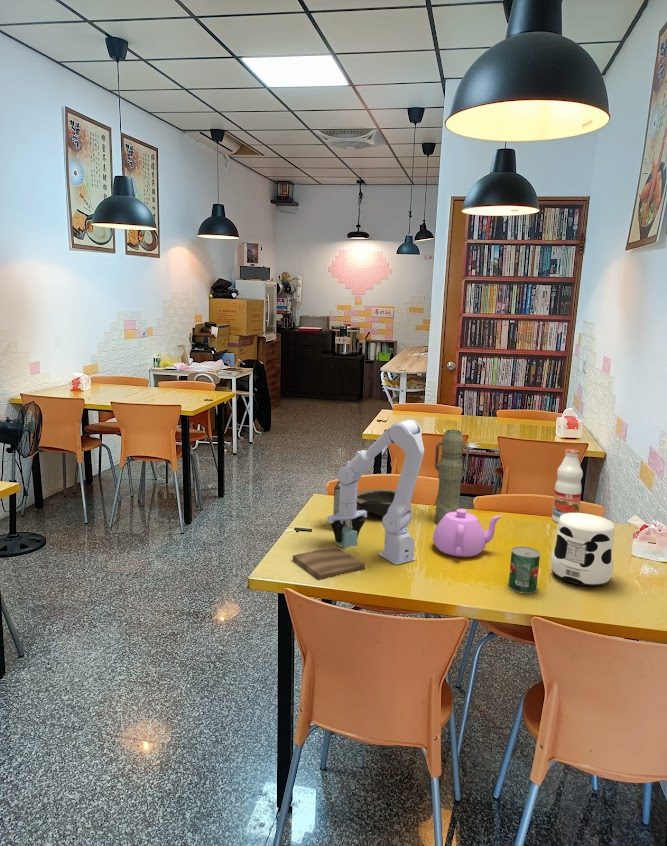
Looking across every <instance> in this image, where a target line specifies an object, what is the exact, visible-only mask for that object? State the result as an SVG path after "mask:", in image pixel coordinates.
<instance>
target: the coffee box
mask: <svg viewBox="0 0 667 846" xmlns="http://www.w3.org/2000/svg"><path fill="white" fill-rule="evenodd" d="M333 490H334V491H333V511H332V513H333V514H332V515H334V514H336V513H339V500H340V482H339V480H338V481H337V482H336V484H335V485H334V487H333ZM340 522H341V524H343V525H344V526H343V528H346V527H350V528H352V522H351V519H349V520H343V521H340Z"/></svg>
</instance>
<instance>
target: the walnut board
mask: <svg viewBox="0 0 667 846" xmlns="http://www.w3.org/2000/svg"><path fill="white" fill-rule="evenodd" d="M292 561H294V562H295V563H296V564H298V566H299V567H302V569H305V571H307V572H308V573H309V574H311V575H312V576H314V577H315V578H316V579H318V580H319V581H321V580H325V579H328V577H329V578H334V577H337V576H336V575H338V576H341V575H340V574H342V575H345V573H346V574H349V573H353V572H358V571H362V570H365V569H366V563H364V562H362V561H361V560H359V559H358V558H356V557H354V556H353V555H351V554H349V553H348V552H346V551H344V550H343V549H342V548H340V547H338V546H331V547H326V548H322V549H318V550H317V549H316V550H313V551H308V552H303V553H299V554H294V555H292ZM333 576H334V577H333Z"/></svg>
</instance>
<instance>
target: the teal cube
mask: <svg viewBox="0 0 667 846" xmlns="http://www.w3.org/2000/svg"><path fill="white" fill-rule="evenodd" d="M336 543H337V544H336ZM335 544H336V545H338V544H339V545H338V546H340V545H341V546H342V548H343V549H346V548H347V547H348V548H352V547H351V546H353V547H356V546H358V538H357V531H355V530H354V529H352V528H350V527H346V528H343V529H342V534H341V543H338V542H336V541H335ZM341 546H340V547H341ZM348 548H347V549H348Z"/></svg>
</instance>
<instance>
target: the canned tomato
mask: <svg viewBox="0 0 667 846" xmlns="http://www.w3.org/2000/svg"><path fill="white" fill-rule="evenodd" d="M540 558H541V552H540V551H539V550H538V549H535V548H533V547H529V546H515V547H513V548H511V554H510V565H509V573H508V583H507V584H508V585H507V586H508V588H509V587H510V588H511V591H514V592H516V591H517V593H519V592H522V593H521V594H527V593H528V594H533V593H532V592H534V593H536V591H537V590H538V589H537V587H538V579H539V570H540V569H539V568H540V560H541V559H540ZM510 588H509V589H510Z"/></svg>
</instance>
